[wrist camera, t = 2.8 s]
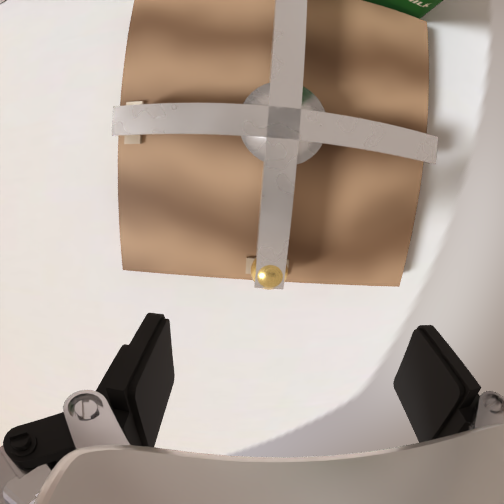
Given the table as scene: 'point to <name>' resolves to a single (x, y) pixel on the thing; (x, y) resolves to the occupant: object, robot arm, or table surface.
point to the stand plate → (250, 167)
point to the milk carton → (408, 6)
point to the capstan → (277, 134)
